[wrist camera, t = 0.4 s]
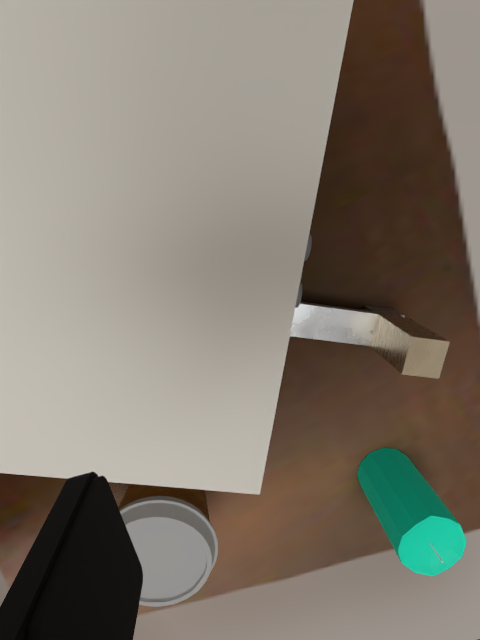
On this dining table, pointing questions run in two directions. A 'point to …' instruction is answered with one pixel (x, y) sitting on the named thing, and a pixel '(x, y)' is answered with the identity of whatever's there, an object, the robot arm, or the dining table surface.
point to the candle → (411, 513)
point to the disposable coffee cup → (169, 540)
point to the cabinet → (156, 229)
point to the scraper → (375, 335)
